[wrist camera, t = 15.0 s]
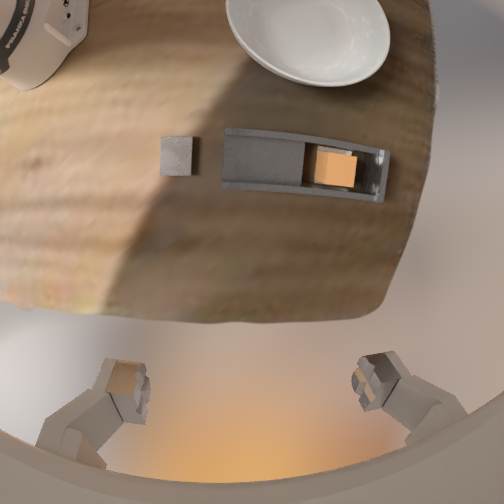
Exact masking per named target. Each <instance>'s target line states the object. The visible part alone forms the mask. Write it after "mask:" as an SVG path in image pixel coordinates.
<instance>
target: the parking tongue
mask: <svg viewBox="0 0 504 504" xmlns="http://www.w3.org/2000/svg"><path fill="white" fill-rule="evenodd" d="M192 151H193V137H161V156H160V176H191V175H192Z"/></svg>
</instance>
